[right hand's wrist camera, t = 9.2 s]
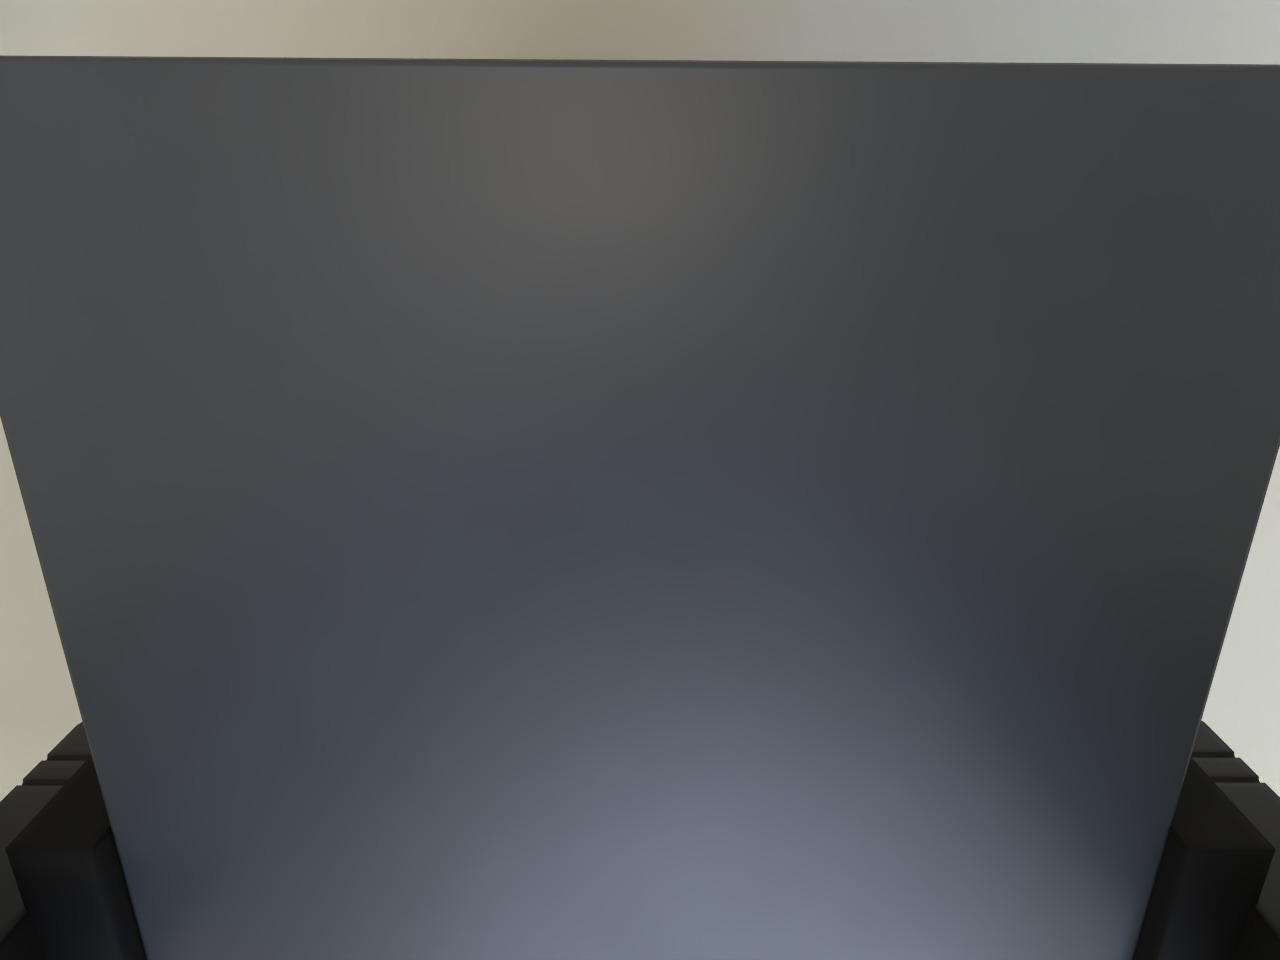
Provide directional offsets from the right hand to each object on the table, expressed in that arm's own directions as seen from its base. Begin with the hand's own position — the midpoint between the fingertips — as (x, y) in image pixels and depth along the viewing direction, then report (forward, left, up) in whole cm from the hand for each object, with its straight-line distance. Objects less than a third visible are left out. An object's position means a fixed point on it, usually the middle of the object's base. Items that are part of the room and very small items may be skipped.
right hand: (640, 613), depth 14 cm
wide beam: (+11, +19, -1) cm, 22 cm away
